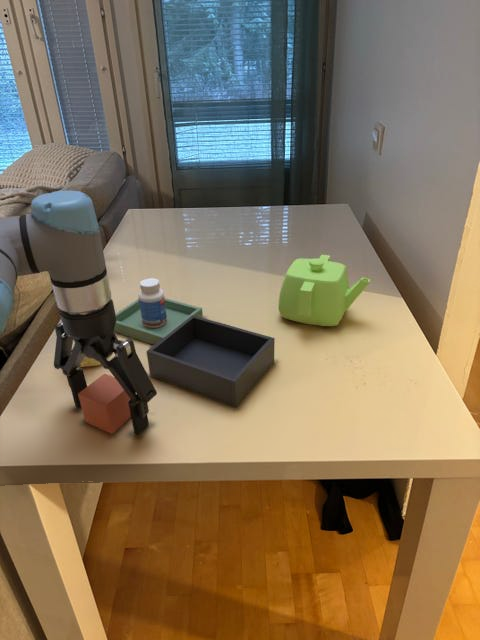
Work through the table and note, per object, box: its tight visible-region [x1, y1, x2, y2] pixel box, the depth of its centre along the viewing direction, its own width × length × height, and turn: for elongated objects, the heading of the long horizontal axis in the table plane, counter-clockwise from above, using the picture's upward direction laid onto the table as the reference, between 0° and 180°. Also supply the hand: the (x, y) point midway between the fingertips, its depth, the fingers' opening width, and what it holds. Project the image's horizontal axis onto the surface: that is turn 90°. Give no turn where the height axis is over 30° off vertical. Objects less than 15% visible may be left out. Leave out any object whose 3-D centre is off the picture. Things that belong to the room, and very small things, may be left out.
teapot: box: [278, 254, 371, 327], centre depth 101 cm, size 18×20×13 cm
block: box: [78, 373, 131, 435], centre depth 76 cm, size 6×6×6 cm
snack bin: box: [146, 315, 276, 408], centre depth 87 cm, size 19×15×6 cm
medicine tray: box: [114, 297, 204, 346], centre depth 102 cm, size 16×14×3 cm
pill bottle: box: [137, 277, 167, 328], centre depth 100 cm, size 6×5×10 cm
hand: (111, 415), depth 78 cm, fingers open, 12 cm apart
